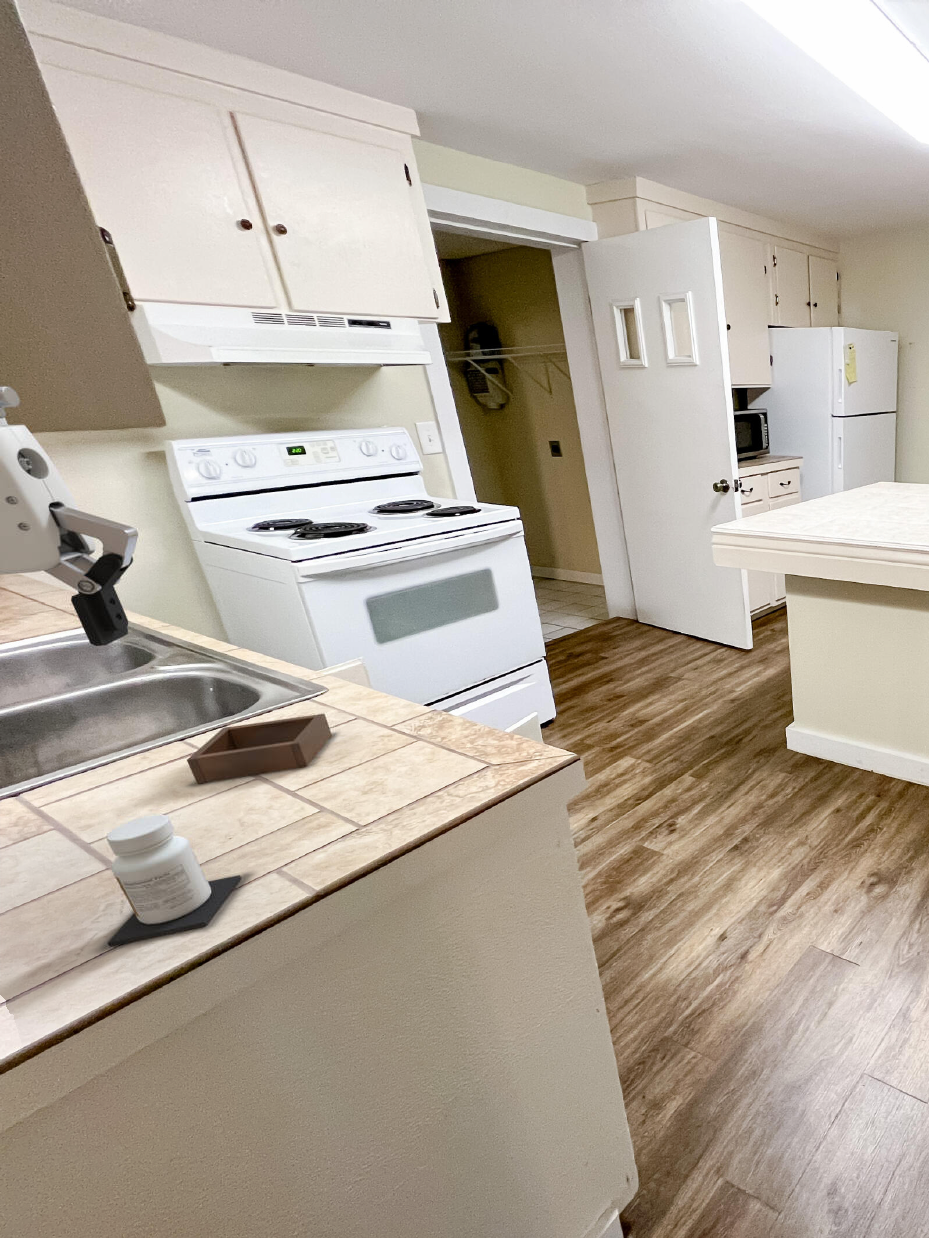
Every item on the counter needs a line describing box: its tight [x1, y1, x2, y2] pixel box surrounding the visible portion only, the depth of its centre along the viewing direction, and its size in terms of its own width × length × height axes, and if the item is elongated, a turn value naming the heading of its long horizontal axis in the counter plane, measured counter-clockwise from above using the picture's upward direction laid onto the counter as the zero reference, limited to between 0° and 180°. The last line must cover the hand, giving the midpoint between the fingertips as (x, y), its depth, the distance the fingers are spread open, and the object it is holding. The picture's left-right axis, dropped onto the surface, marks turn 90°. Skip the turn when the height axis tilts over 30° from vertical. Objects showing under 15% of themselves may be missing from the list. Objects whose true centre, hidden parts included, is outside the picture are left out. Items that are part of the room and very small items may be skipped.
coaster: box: [106, 874, 242, 947], centre depth 56 cm, size 6×6×1 cm
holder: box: [186, 713, 333, 785], centre depth 79 cm, size 10×8×3 cm
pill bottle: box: [106, 814, 211, 924], centre depth 54 cm, size 4×4×8 cm
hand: (28, 647), depth 51 cm, fingers open, 9 cm apart
